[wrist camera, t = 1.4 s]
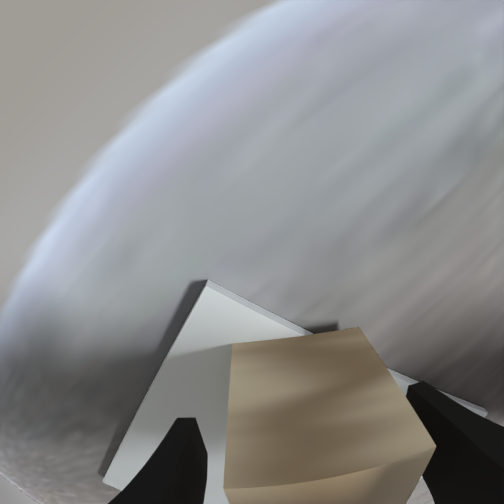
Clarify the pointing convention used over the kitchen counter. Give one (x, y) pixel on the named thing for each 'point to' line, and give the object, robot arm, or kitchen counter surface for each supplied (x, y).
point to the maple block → (319, 424)
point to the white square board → (206, 384)
